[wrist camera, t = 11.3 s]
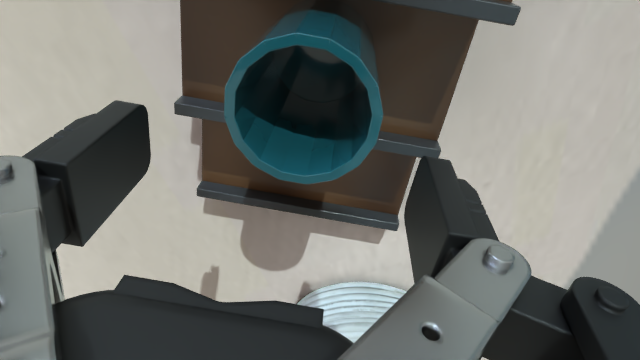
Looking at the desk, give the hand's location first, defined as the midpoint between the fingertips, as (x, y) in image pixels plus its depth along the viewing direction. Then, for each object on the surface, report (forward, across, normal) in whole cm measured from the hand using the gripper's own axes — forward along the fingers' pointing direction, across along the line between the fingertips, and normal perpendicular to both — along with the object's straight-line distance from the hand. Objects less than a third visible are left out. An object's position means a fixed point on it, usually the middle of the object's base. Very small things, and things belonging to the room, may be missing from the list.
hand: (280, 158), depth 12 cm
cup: (+12, 0, 0) cm, 12 cm away
